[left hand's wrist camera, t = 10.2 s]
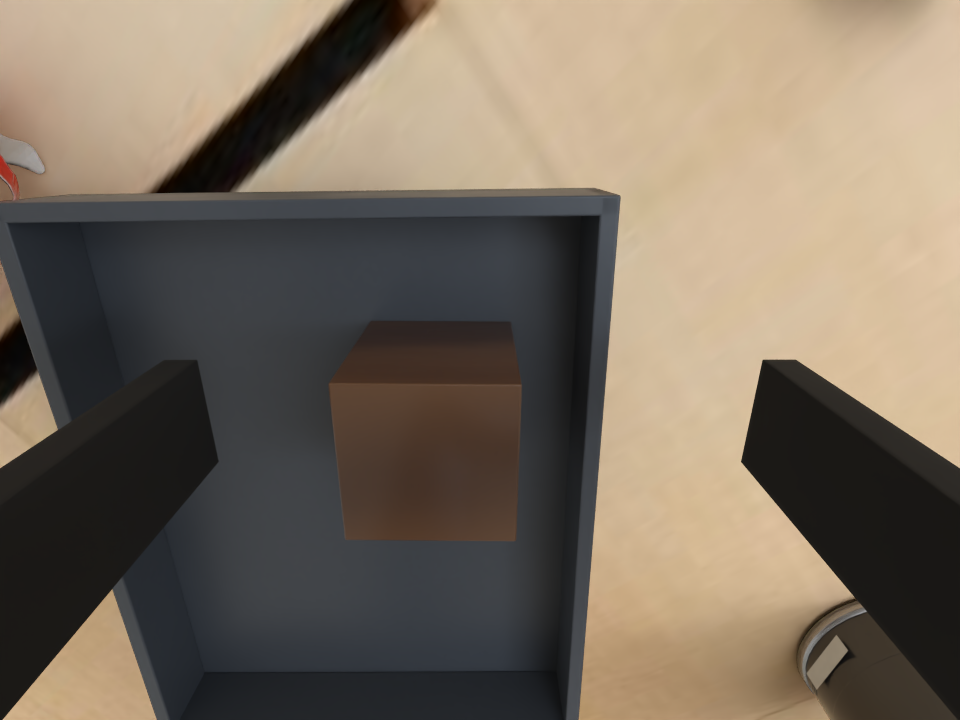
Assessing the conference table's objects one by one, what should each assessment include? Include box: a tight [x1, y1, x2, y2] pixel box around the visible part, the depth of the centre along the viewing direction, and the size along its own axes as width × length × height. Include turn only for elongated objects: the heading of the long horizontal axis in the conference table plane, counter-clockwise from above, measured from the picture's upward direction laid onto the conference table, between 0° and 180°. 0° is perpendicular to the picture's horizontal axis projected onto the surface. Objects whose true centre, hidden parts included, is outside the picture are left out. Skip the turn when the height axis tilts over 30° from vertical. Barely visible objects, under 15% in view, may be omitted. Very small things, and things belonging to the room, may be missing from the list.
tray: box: [0, 188, 620, 720], centre depth 16 cm, size 25×16×10 cm, turn 1°
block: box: [328, 321, 522, 541], centre depth 15 cm, size 4×4×5 cm
